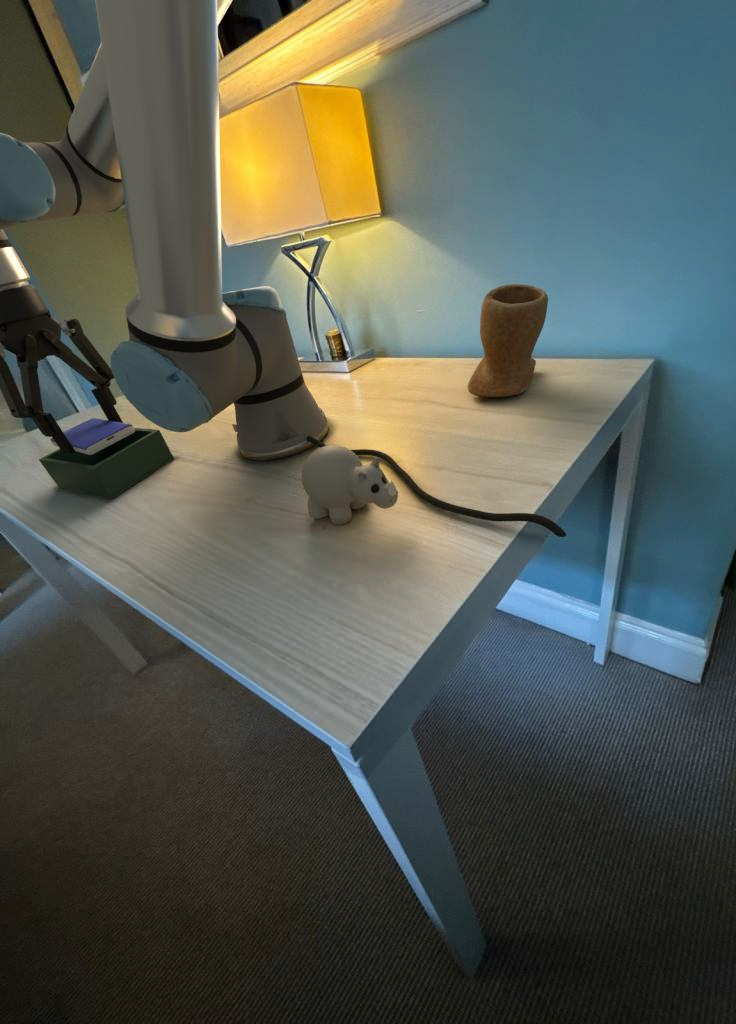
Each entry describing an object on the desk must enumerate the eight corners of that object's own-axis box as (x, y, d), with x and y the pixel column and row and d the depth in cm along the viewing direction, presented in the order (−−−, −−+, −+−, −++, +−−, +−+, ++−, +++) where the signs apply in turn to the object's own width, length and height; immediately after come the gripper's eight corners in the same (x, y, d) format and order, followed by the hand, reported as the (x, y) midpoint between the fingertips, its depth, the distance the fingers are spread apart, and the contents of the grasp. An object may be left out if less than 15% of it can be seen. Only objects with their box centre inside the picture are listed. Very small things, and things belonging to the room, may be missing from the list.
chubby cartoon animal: (383, 546, 46) (368, 478, 41) (302, 521, 53) (280, 460, 48) (417, 508, 50) (407, 442, 46) (338, 489, 57) (321, 430, 52)
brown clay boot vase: (539, 403, 66) (542, 295, 57) (461, 403, 71) (453, 305, 63) (552, 366, 76) (556, 270, 68) (483, 369, 82) (479, 280, 73)
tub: (174, 458, 77) (159, 429, 73) (112, 499, 68) (92, 468, 65) (119, 451, 85) (104, 425, 82) (58, 487, 77) (38, 459, 73)
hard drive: (49, 438, 73) (84, 447, 66) (94, 416, 78) (131, 423, 71) (54, 446, 74) (89, 456, 67) (99, 424, 79) (136, 431, 72)
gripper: (62, 274, 69) (134, 409, 82) (-98, 314, 55) (19, 469, 68) (87, 268, 65) (159, 411, 78) (-77, 309, 51) (43, 474, 64)
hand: (94, 438), depth 73 cm, fingers closed on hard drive, 8 cm apart
